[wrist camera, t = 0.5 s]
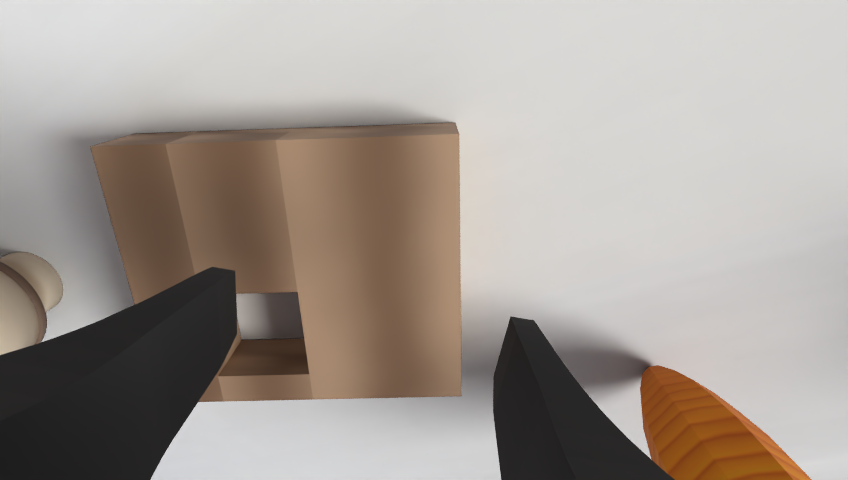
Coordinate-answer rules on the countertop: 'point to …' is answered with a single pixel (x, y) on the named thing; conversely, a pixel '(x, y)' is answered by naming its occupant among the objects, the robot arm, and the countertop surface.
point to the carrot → (705, 434)
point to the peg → (26, 299)
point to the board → (306, 248)
